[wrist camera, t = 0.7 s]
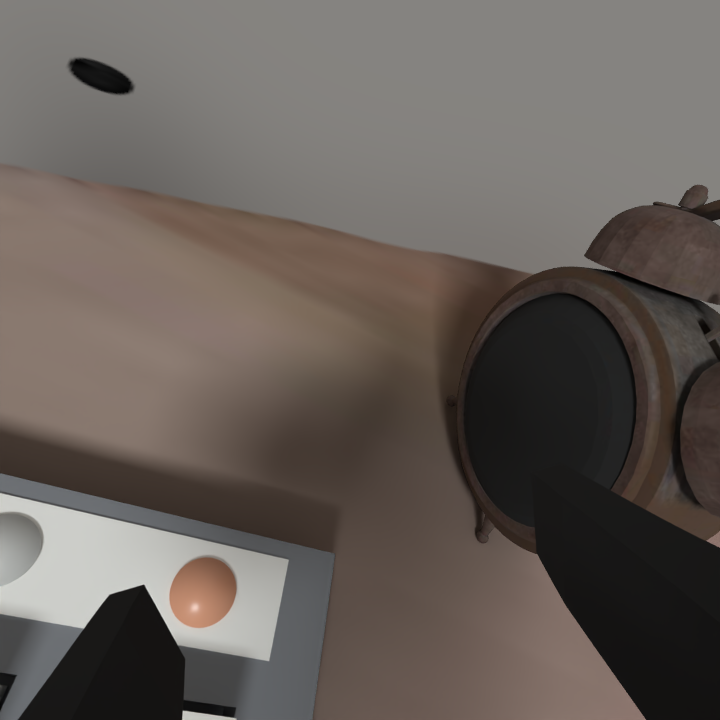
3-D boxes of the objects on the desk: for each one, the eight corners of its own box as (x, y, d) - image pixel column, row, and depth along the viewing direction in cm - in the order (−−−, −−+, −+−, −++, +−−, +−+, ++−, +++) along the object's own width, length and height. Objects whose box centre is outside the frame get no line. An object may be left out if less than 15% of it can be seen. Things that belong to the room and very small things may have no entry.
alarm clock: (413, 366, 33) (663, 87, 18) (498, 378, 36) (777, 144, 21) (460, 600, 25) (969, 449, 10) (564, 592, 28) (1088, 464, 13)
